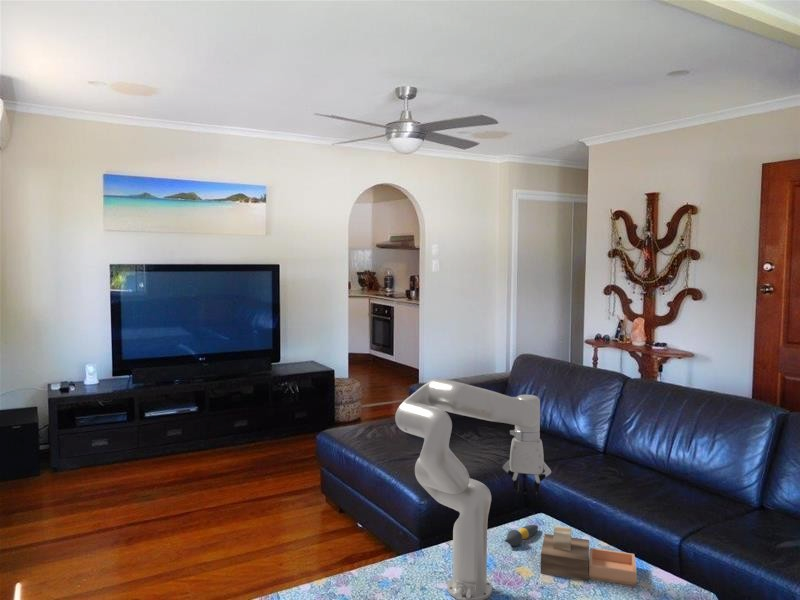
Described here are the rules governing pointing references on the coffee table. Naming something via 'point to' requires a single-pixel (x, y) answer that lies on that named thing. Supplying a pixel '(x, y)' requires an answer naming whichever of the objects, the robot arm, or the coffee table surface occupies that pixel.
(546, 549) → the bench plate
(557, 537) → the beech block
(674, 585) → the coffee table surface
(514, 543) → the paintbrush
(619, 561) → the tray
